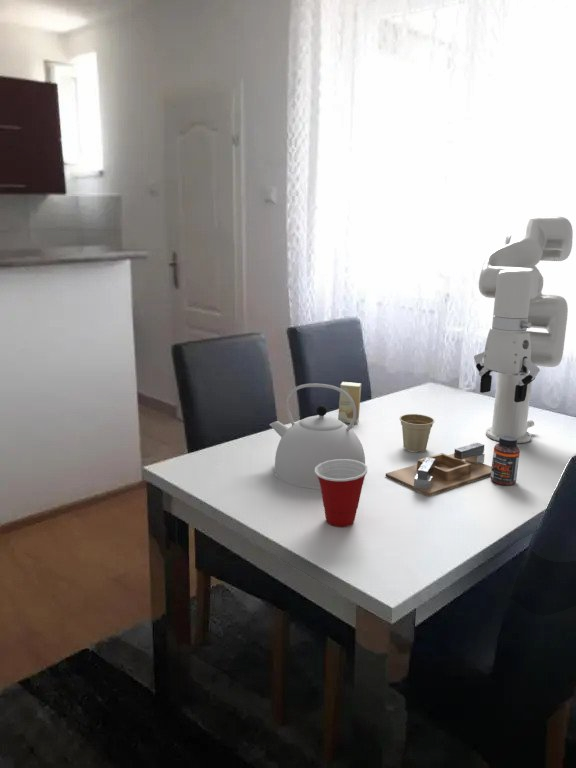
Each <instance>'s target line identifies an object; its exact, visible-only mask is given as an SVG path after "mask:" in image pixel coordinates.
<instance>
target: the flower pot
mask: <svg viewBox="0 0 576 768" xmlns="http://www.w3.org/2000/svg"><path fill="white" fill-rule="evenodd" d="M399 421H400V425H401V430H402V441H403V445H402V446H403V448H404V449H405V451H408V452H413V453H417V452H420V453H421V452H425V451H427V447H428V443H429V439H430V438H429V437H430V434H431V430H432V427H433V426H434V425H433V424H434V423H435V418H433V417H432V416H429V415H425V414H418V413H407V414H402V415H401V416H400V417H399Z"/></svg>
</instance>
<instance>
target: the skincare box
mask: <svg viewBox="0 0 576 768" xmlns="http://www.w3.org/2000/svg"><path fill="white" fill-rule="evenodd" d="M339 388H340V389H342V390H344V391H345V392H346V393H348V395H349V396H350V397H351V398H352V399H353V401H354V403H355V406H356V413H357V415H356V421H355V423H354V425H355V424H357V425H358V423H359V420H360V410H361V409H360V408H361V407H360V405H361V395H362V394H361V392H362V383H360V382H359V383H358V382H350V381H349V382H348V381H341V383H340V387H339ZM337 419H338V420H340V421H341V422H343V423H344V424H347V423H348V424H350V423H351V422H352V419H353V407H352V405H351V402H350V401H349V399H348V398H347V397H346V396H345V395H343V394H342V393H341V392H339V401H338V415H337Z"/></svg>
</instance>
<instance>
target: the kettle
mask: <svg viewBox="0 0 576 768" xmlns="http://www.w3.org/2000/svg"><path fill="white" fill-rule="evenodd" d="M305 388H326V389H331V390H335V391H337V392H339V393H340V392H341V393H342V394H343V395H345V396H346V397H347V398H348V399H349V401H350V402H351V405H352V407H353V419H352V422H351V423H349V424H348V425H347V423H345V422H341V421H340V420H338V418H336V417H332V416H327V415H326V414H327V413H328V408H327V407H326V406H325V405H323V404H320V405H318V406H317V408H316V411H315V412H316V414H317V415H312V416H308V417H305V418H303V419H301V420H298V421H297V422H295V421H294V419H293V416H292V413H291V411H290V400H291V398H292V396H293V394H295V393H296V391H299V390H301V389H305ZM285 410H286V414H287V417H288V419H289V422H290V424H291V426H290V427H288V426H287V425H285V424H283V423H281V422H280V421H278V420H276V421H273V422H271V423H269V427H271V428H272V429H273V430H274V431H275V432H276V433H277V434H278V436H280V440H279V442H278V445H277V447H276V448H277V449H276V452H275V458H274V459H275V460H274V474H275V476H276V477H277V478H279V480H281V481H283V482H285V483H287V484H289V485H292V486H295V487H299V488H304V489H311V490H321V486H320V483H319V479H318V476H317V475H316V473H315V467H316V466H318V465H319V464H320V463H323V462H326V461H330V460H336V459H349V460H356V461H359V462H362V463H364V464H365V465H366V457H365V452H364V451H365V449H364V447H363V444H362V443H361V440H360V439H359V437H358V435H357V433H356V432H354V430H353V429H352V428H353V426H354V425H355V424H354V423H355V421H356V415H357V413H356V406H355V403H354V401H353V399H352V398H351V397H350V396H349V395H348V393H346V392H345V391H344V390H342V389H340V387H337V386H335V385H332V384H326V383H304V384H300V385H297V386H296V387H294V388H293V389H291V390H290V392H289V394H288V395H287V397H286V400H285Z"/></svg>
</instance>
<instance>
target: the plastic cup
mask: <svg viewBox="0 0 576 768" xmlns="http://www.w3.org/2000/svg"><path fill="white" fill-rule="evenodd" d="M315 473H316V475H317V476H318V479H319V483H320V486H321V489H320V491H321V492H320V493H321V498H322V504H323V507H324V508H323V509H324V516H325V520H326V522H327V524H328V525H331V526H332V527H337V528H346V527H350V526H352V525H353V524H354V522H355V520H356V516H357V511H358V507H359V503H360V499H361V493H362V489H363V485H364V480H365V477H366V474H367V473H368V465H366V463H365V464H364V463H362V462H359V461H356V460H349V459H336V460H330V461H326V462H323V463H320V464H319V465H318V466H316V467H315Z"/></svg>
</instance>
